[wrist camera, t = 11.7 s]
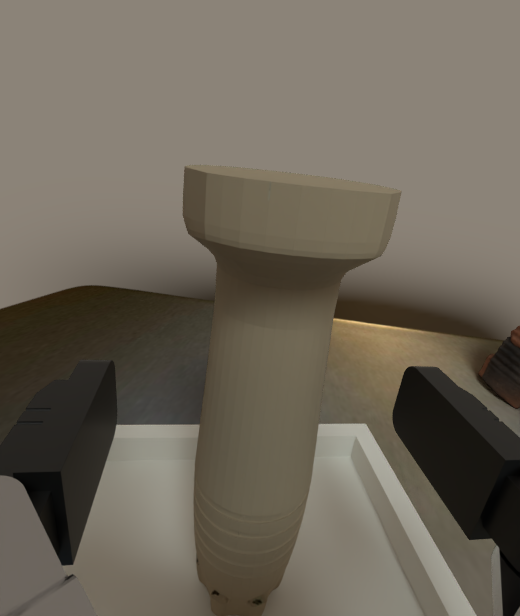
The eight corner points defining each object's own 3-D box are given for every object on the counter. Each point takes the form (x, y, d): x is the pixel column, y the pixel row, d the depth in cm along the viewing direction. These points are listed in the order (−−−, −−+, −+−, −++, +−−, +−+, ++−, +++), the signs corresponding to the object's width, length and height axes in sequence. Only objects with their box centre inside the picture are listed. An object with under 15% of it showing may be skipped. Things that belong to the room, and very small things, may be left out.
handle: (153, 681, 12) (152, 168, 6) (192, 503, 17) (210, 163, 12) (307, 694, 12) (450, 202, 6) (294, 512, 18) (359, 180, 12)
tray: (-137, 993, 7) (-179, 961, 7) (80, 461, 20) (77, 425, 19) (547, 847, 10) (588, 809, 9) (357, 456, 23) (365, 423, 22)
